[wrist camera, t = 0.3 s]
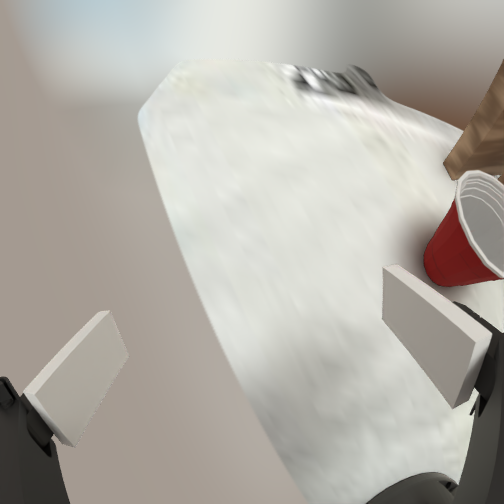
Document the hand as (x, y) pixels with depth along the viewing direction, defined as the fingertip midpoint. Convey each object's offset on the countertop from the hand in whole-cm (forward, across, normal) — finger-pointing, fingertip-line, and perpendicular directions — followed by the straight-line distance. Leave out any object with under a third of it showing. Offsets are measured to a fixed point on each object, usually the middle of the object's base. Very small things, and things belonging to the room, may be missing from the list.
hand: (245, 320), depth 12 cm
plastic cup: (+15, -22, +6) cm, 27 cm away
